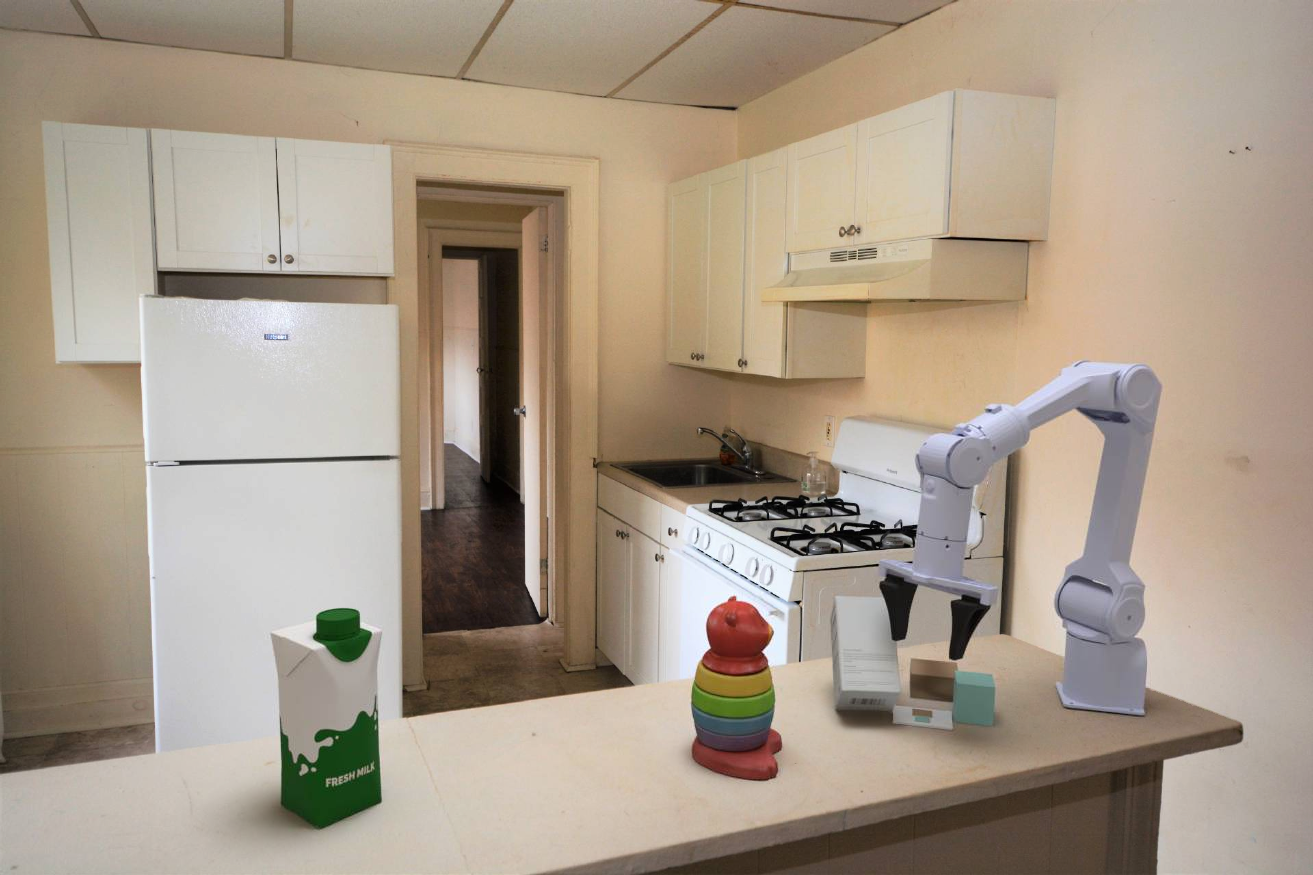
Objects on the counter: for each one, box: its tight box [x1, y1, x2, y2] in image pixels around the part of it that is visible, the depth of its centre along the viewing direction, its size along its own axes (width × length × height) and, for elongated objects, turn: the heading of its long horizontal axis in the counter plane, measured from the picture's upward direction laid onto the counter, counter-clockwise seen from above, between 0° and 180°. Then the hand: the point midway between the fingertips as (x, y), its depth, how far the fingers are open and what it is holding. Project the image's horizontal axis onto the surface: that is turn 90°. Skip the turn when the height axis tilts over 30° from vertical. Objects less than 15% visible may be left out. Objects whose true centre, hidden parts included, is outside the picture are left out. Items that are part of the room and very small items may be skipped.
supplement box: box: [829, 595, 902, 713], centre depth 119 cm, size 7×7×13 cm
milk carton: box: [270, 607, 383, 829], centre depth 93 cm, size 9×9×20 cm
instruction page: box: [892, 704, 954, 731], centre depth 117 cm, size 7×5×1 cm
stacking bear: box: [690, 595, 783, 780], centre depth 105 cm, size 11×10×18 cm
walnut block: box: [909, 657, 959, 703], centre depth 125 cm, size 6×6×4 cm
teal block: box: [952, 670, 996, 727], centre depth 117 cm, size 4×4×5 cm
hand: (926, 648), depth 112 cm, fingers open, 7 cm apart
